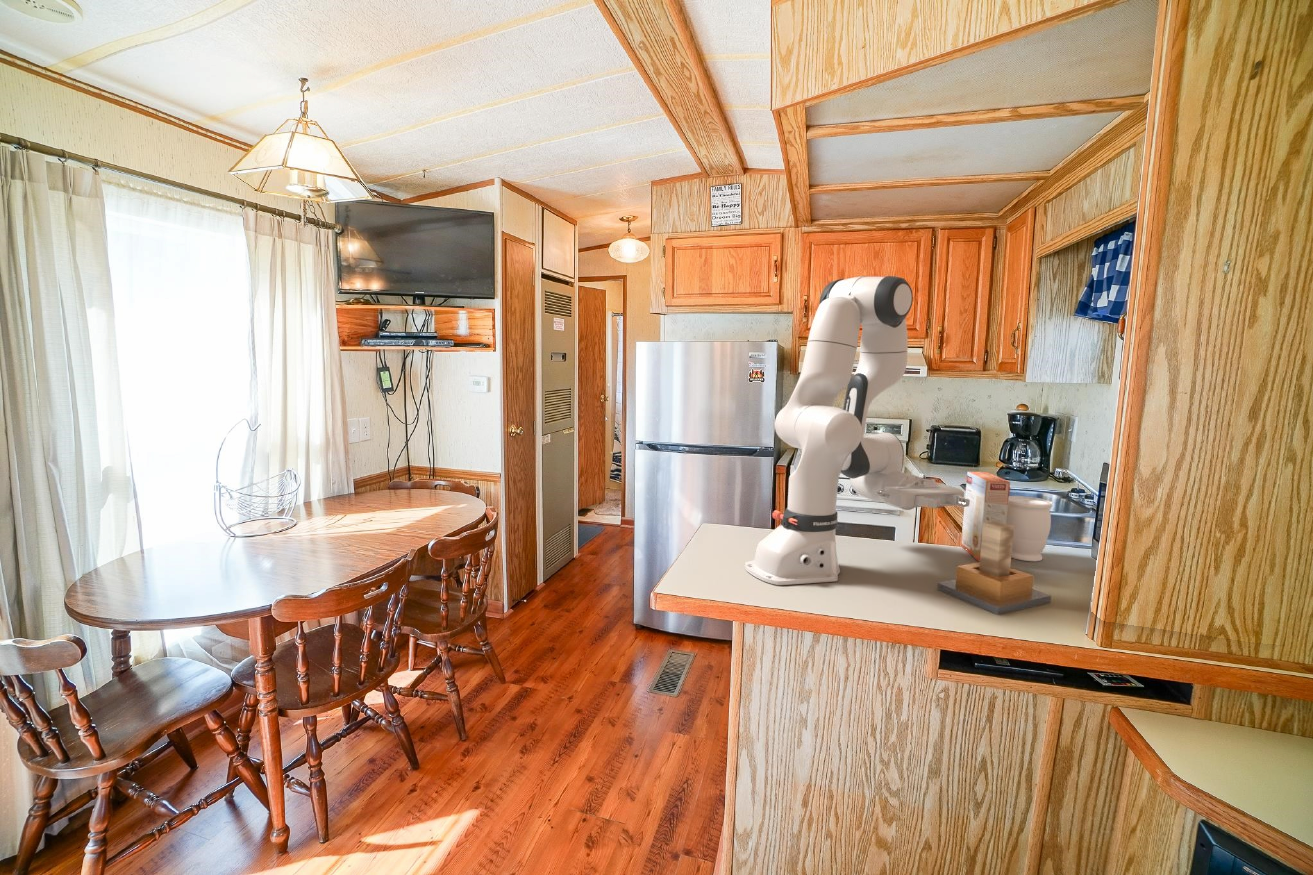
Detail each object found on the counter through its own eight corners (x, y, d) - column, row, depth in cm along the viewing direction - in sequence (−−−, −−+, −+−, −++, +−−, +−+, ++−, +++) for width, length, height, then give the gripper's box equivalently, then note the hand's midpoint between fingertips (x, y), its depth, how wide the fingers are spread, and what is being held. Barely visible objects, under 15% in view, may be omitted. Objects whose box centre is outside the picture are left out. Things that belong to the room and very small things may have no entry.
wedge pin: (994, 593, 119) (1000, 528, 117) (977, 586, 123) (983, 523, 121) (1008, 591, 121) (1014, 526, 119) (990, 584, 124) (996, 521, 123)
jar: (994, 548, 155) (999, 493, 153) (1038, 552, 152) (1044, 497, 150) (1006, 560, 145) (1011, 502, 143) (1053, 565, 142) (1059, 506, 140)
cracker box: (1004, 564, 142) (1011, 481, 139) (977, 562, 143) (984, 480, 141) (984, 547, 156) (990, 471, 153) (960, 545, 157) (966, 470, 154)
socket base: (997, 614, 112) (1000, 587, 112) (937, 589, 125) (939, 564, 124) (1050, 602, 119) (1052, 577, 118) (987, 579, 131) (989, 556, 131)
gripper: (874, 479, 138) (920, 491, 126) (935, 478, 146) (985, 489, 134) (871, 505, 139) (917, 519, 126) (932, 502, 147) (981, 515, 135)
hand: (952, 503), depth 130 cm, fingers open, 8 cm apart
